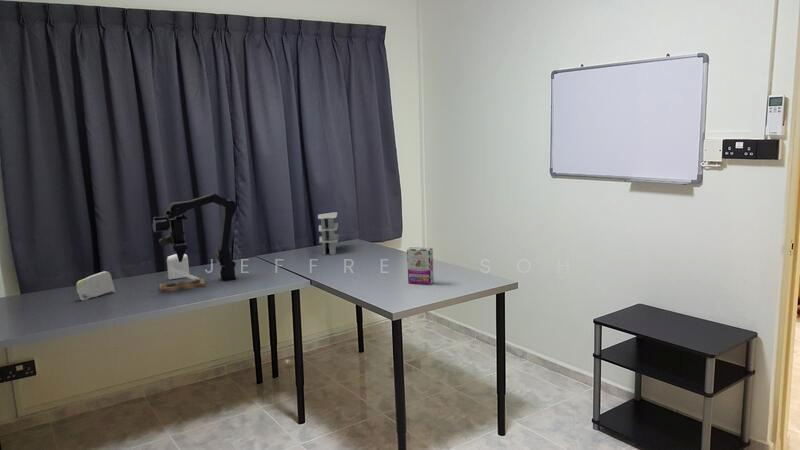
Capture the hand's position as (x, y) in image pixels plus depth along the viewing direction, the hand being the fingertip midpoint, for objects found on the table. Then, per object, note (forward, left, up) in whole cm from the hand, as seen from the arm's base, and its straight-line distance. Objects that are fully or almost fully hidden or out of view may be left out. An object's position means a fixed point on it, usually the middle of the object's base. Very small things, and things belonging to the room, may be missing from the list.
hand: (180, 261), depth 277 cm
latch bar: (-1, 0, -7) cm, 7 cm away
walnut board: (0, 0, -12) cm, 12 cm away
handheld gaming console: (+37, -4, -13) cm, 39 cm away
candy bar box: (-100, +55, -13) cm, 115 cm away
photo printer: (0, -20, -13) cm, 24 cm away
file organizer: (-86, -38, -13) cm, 95 cm away
